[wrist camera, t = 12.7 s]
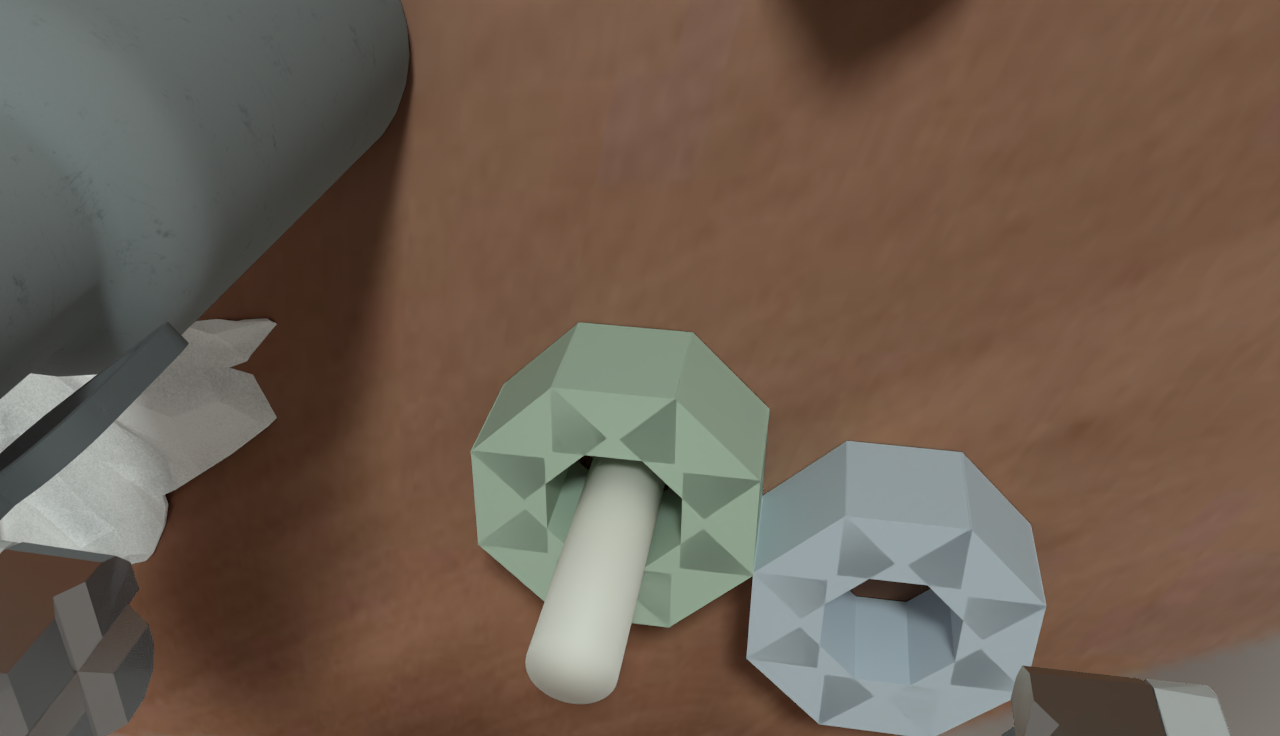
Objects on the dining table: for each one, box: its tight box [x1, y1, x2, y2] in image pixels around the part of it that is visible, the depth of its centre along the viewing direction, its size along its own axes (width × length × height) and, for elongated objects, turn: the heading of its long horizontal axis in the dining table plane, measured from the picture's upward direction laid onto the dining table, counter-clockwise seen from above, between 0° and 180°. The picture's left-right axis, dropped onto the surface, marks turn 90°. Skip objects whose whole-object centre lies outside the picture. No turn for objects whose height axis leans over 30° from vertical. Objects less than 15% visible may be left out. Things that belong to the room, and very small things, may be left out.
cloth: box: [0, 318, 277, 564], centre depth 50 cm, size 26×14×2 cm, turn 123°
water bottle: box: [0, 0, 410, 520], centre depth 27 cm, size 10×10×28 cm
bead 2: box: [746, 441, 1047, 736], centre depth 44 cm, size 10×10×4 cm
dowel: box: [525, 456, 665, 704], centre depth 40 cm, size 3×3×12 cm
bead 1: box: [471, 322, 770, 628], centre depth 43 cm, size 10×10×4 cm
